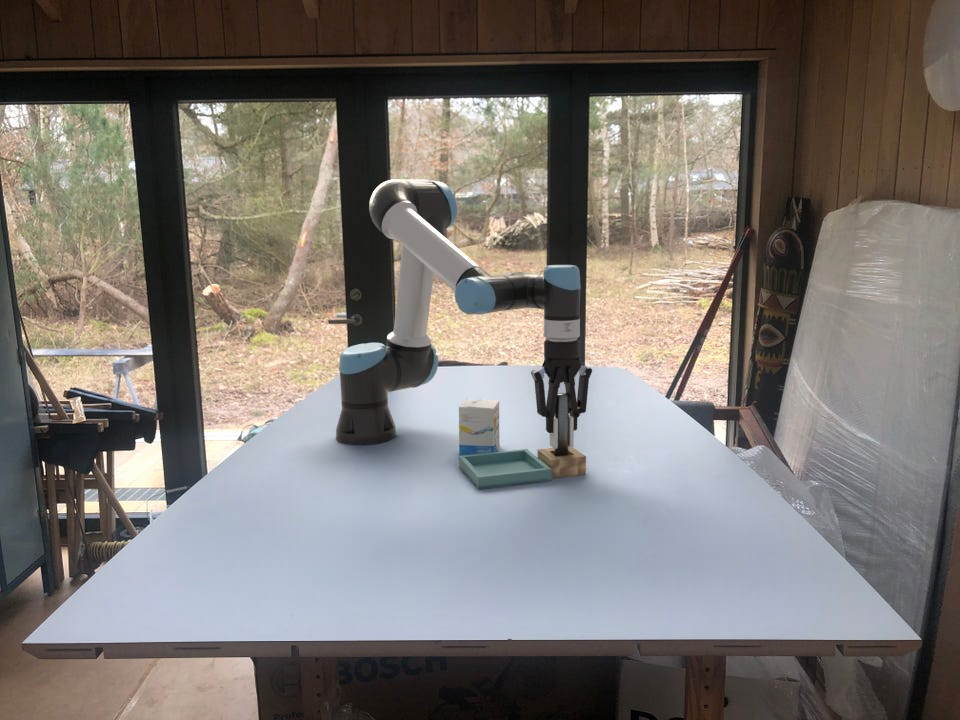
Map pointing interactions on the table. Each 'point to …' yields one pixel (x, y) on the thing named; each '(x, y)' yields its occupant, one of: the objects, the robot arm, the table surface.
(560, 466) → the wooden frame
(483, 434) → the ink box
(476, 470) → the tray
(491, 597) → the table surface
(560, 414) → the cylinder
